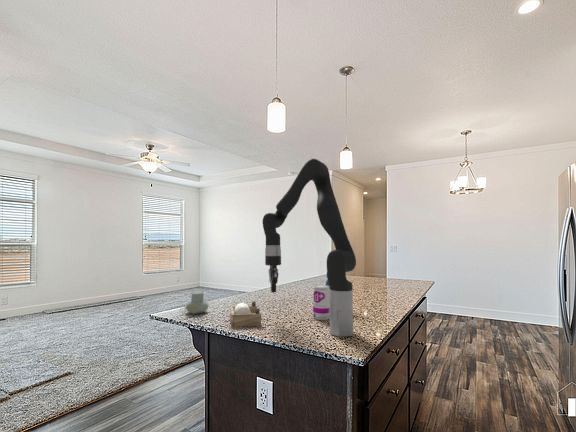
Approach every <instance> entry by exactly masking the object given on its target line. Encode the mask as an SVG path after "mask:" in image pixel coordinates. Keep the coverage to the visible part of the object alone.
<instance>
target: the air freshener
mask: <svg viewBox="0 0 576 432" xmlns="http://www.w3.org/2000/svg"><path fill="white" fill-rule="evenodd" d="M208 308H209V304H208V302H207V301H205V300H204V292H203V291H202V292H201V291H194V292H192V293H191V301H189V302H188V303H187V304H186V307H185V309H186V311H187V312H188V313H189V314H192V315H200V314H202V313H205V312H206V311H207V310H208Z"/></svg>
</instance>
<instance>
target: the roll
mask: <svg viewBox="0 0 576 432" xmlns="http://www.w3.org/2000/svg"><path fill="white" fill-rule="evenodd" d="M248 306H249V305H248V304H247V303H245V302H240V303H237V304H236V307H235V309H234V313H235V314H251V311H250V309H249V307H248Z"/></svg>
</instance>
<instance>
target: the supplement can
mask: <svg viewBox="0 0 576 432" xmlns="http://www.w3.org/2000/svg"><path fill="white" fill-rule="evenodd" d="M312 301H313V302H312V311H313V312H312V316H313V318H314V319H315V320H317V321H328V320H330V288H329V286H326V285H321V284H320V285H314V286H313V289H312Z"/></svg>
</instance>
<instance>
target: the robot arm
mask: <svg viewBox="0 0 576 432" xmlns="http://www.w3.org/2000/svg"><path fill="white" fill-rule="evenodd" d="M310 181H312V182H313V184H314V187H315V189H316V193H317V199H316V212H317V216H318V220H319V223H320V224H321V227H322V229H323V230H324V231H325V232H326V233H327V234H328V236H329V238H330V239H331V241H332V243H333V244H334V245H333V246H334V248H335V249H333V250H331V251H330V252H328V255H327V258H326V278H327V280H328V283H329V287H330V318H329V334H330V335H332V336H335V337H336V336H337V337H338V338H340V337H341V338H342V337H353V336H354V299H353V297H354V295H353V293H354V292H353V291H354V289H353V282H351V281H349V280H348V279H347V276H346V274H347V273H349V272H350V273H351V272H353V271H354V269H355V268H356V265H357V258H356V254H355V252H354V250H353V246H352V245H351V243H350V239H349V237H348V235H347V234H348V233H347V232H346V229H345V226H344V222H343V219H342V215H341V211H340V209H339V205H338V203H337V199H336V197H335V193H334V190H333V187H332V182H331V176H330V171H329V168H328V166H327V165H326V163H324V162H322V161H320V160H318V158H317V159H316V158H310V159H308V160H307V161H306V162H304V165H303V166H302V168H300V171H299V172H298V174H297V176H296V177H295V179H294V181H293V182H292V184H291V185H290V188H288V190H287V192H285V194H284V195H283V197H282V198H281V199H280V200H279V201H278V202H277V204H276V206H275V208H276V211H274V212H267V213H265V214H264V215H263V216H262V217H263V218H262V227H263V233H264V235H265V249H264V250H265V251H264V252H265V253H264V257H265V258H264V259H265V260H264V261H265V262H264V264H265V266H269V269H268V277H269V278H268V279H269V283H270V292H271V293H276V292H277V284H278V279H279V269H278V267H277V266H281V265H282V249H281V247H282V246H281V235H280V234H279V233H278V232H277V228H280V227H281V226H283V224H284V223H285V222H286V219H287V217H288V216H289V214H290V212H291V211H292V210H293V209H294V208H295V206H296V205H297V204H298V202H299V200H300V198H301V196H302V195H301V194H302V192H303V190H304V189H305V187H306V186H307V184H308V183H310Z"/></svg>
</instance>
